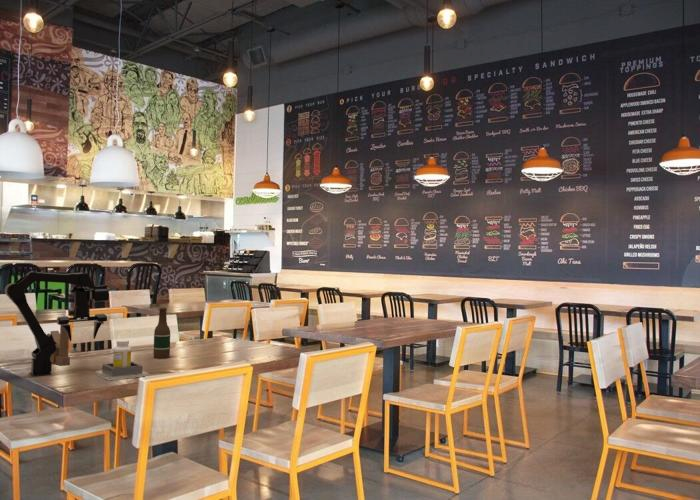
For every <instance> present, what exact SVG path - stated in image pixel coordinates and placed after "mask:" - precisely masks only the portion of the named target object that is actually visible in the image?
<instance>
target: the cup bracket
mask: <svg viewBox="0 0 700 500" xmlns="http://www.w3.org/2000/svg"><path fill="white" fill-rule="evenodd" d="M101 367H102V370H95V375H97V376H98V377H101V378H102V379H105V380H106V381H108V382H109V381H110V380H112V381H118V380H117V379H121V380H127V379H126V378H131V379H136V378H135V377H140V378H142V377H141V376H147V375H149V376H150V373H148V372H147V371H144V370H143V367H144V366H143V365H141V364H139V363H137V362H134V361H131V367H120V368H113V362H112V363H102V365H101ZM110 382H111V381H110Z"/></svg>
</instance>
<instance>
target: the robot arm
mask: <svg viewBox="0 0 700 500" xmlns="http://www.w3.org/2000/svg"><path fill="white" fill-rule="evenodd" d="M35 282H44V283H46V282H47V283H57V284H58V283H61V284H69V285H72V287H71V288H70V289H69V290H68V292H69V293H73V294H74V296H73V297H74V307H68V309H67V313H68V314H67V315H68V316H67V315H65V316H58V317H56V324H57V325H58V326H59V325H61V326H62V327H64V328H65V330H66V332H67V334H68V337H69V342H71V341H72V331H71V324H70V323H76V322H91V321H93V333H92V334H93V335H92V336H93V337H92V338H93V339H94V340H95V339H96V337H97V334H98V331H99V330H100V328H101V326H102V325H103V324H104V323H105V322H108V316H107V315H106V314H104V313H95V314H94V315H93V316H91V315H90V310H91V309H90V300H92V301H93V302H94V303H95V302H96V303H97V302H109V299H110V292H109V289H108V285H106V284H102V285H95V284H94V283H93V282H92V281H91V275H89V274H88V273H85V272H71V273H53V272H41V271H40V272H39V271H38V272H37V271H33V270H32V271H31V270H30V271H28V272H27V273H26V274H25V275H23V276H22V277H21V278H19V279H17V280H16V281H15V282H11V283H8V284H7V285H6V286H5V287H4V290H3V291H4V293H5V295H6V296H7V297H8V299H9V300H10V301H11V302H12V303H13V304H14V306H16V307H17V310H18V311H19V313H20V315H21V316H22V317H23V319H24V321H25V323H26V324H27V326H28V328H29V330H30V332H31V334H32V335H33V337H34V342H35V346H36V348H34V349H33V351H31V356H32V358H31V370H30V372H29V374H30V375H31V376H33V377H34V376H35V377H36V376H47V375H52V368H53V367H52V362H51V361H50V357H51V355H52V354H53V353H54V352H55V351H56V345H55V344H57V343H56V342H55V341H54V340H53V337H52V335H51V333H47V334H46V332H45V331H44V329H43V327H42V326H41V324H40V322H39V320H38V319H37V316H36V314H35V313H34V312H33V310H32V308H31V306H30V305H29V303H28V301H27V296H26V292H25V290H28V288H29V287H31V285H32V284H34V283H35ZM76 286H78V287H76Z"/></svg>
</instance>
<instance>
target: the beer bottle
mask: <svg viewBox="0 0 700 500" xmlns="http://www.w3.org/2000/svg"><path fill="white" fill-rule="evenodd" d="M158 310H159V314H158V323H157V325H156V326H155V329H154V332H153V351H152V352H153V359H158V360H161V359H164V360H165V359H169V358H170V355H171V352H170V351H171V330H170V327H169V325H168V321H167V320H168V319H167V311H168V309H167V307H165V306H164V307H159V309H158Z"/></svg>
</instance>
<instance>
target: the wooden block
mask: <svg viewBox="0 0 700 500" xmlns="http://www.w3.org/2000/svg"><path fill="white" fill-rule="evenodd" d="M59 327H60V328H59V330H60V331H59V330H51V331H50V334H51V335H52V337H53V340H54V341H55V342H56V343H57V344H55V345H56V351H55V352H54V353H53V354H52V355H51V357H50V361H51V362H52V364H53V365H54V364H55V365H56V366H57V365H58V366H69V365H71V356H69V350H70V348H69V347H70V345H69V343H70V340H69V337H68V334H67V332H66V330H65V328H64V327H62V326H61V325H60V326H59Z"/></svg>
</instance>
